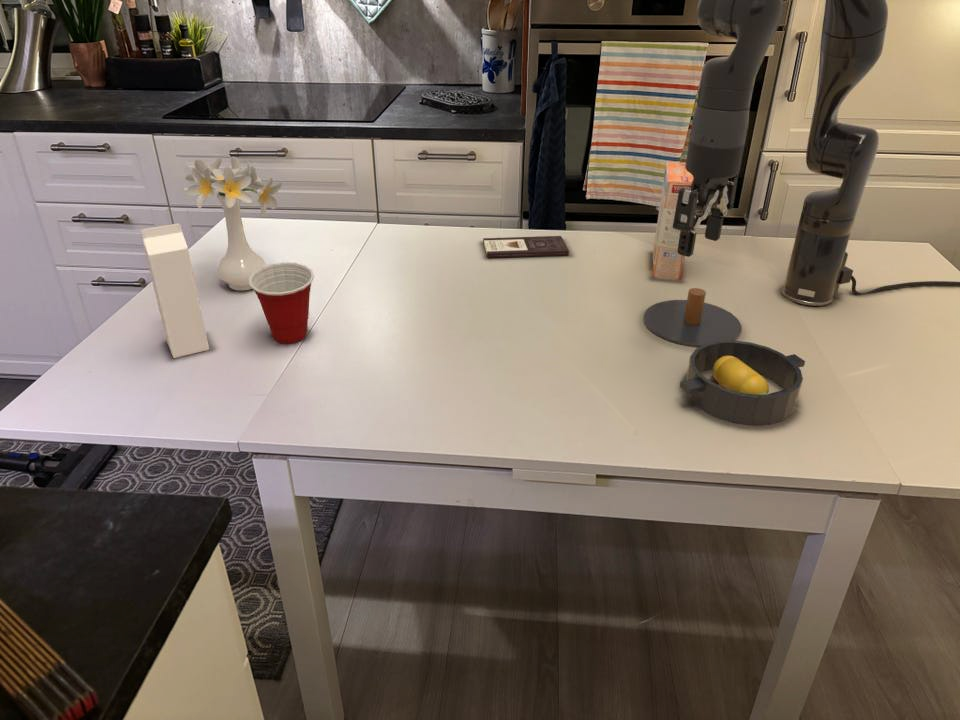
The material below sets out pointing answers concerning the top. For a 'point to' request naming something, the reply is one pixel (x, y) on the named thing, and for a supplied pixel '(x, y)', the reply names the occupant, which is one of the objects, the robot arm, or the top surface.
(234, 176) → the flower vase
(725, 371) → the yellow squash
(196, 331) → the milk
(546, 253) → the chocolate bar
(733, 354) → the pan
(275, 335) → the plastic cup
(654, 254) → the cracker box
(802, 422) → the top surface
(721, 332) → the lid
